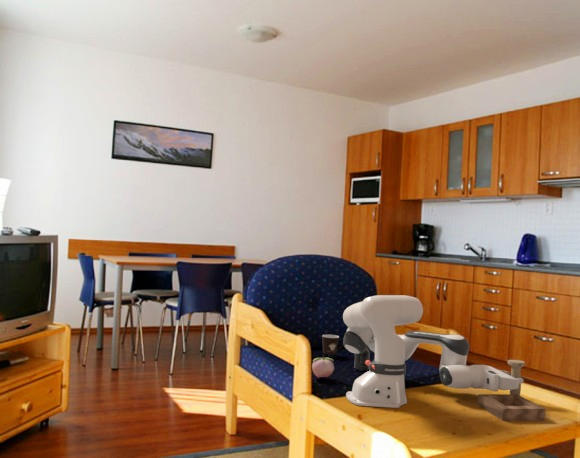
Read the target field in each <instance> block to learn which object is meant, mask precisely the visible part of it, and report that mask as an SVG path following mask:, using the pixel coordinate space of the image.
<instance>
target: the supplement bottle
mask: <svg viewBox="0 0 580 458" xmlns="http://www.w3.org/2000/svg"><path fill="white" fill-rule="evenodd" d="M370 353H371V352H370V349H369V347H368V345H367V348H366V350H365V351H364V352H363V353H362V354H355V353H354V359H353V360H354V361H353V362H354V363H353V369H354V368H356V369H360V370H368V369H369V366H367V365H366V364H365V361H366V360H369V361H370V356H371V355H370Z"/></svg>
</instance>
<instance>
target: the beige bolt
mask: <svg viewBox="0 0 580 458" xmlns="http://www.w3.org/2000/svg"><path fill="white" fill-rule="evenodd" d="M507 364H508V365H509V366H510V367H511V371H510V376H512V377H514V378H522V375H521V374H522V372H521V371H522V368H523V367H525V366H526V362H525V361H523V360H519V359H508V360H507ZM521 391H522V383H519V386H518V389H515V390H509V394H518V395H520V396H521Z"/></svg>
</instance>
